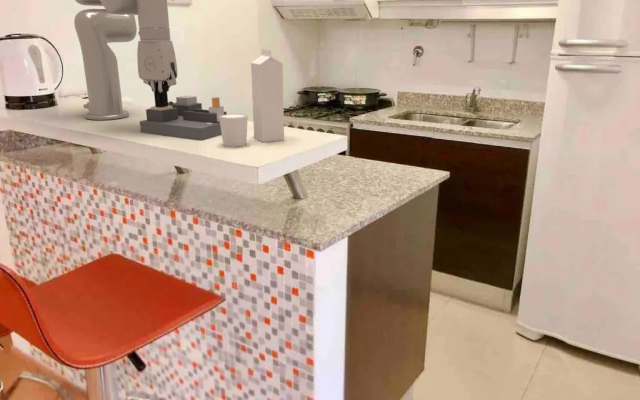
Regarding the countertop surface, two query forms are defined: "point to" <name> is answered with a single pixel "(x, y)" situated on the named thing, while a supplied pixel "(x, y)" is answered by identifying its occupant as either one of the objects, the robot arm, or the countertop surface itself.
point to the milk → (267, 98)
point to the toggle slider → (216, 108)
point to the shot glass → (234, 129)
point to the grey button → (186, 100)
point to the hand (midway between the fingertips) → (162, 106)
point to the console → (182, 122)
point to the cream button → (161, 108)
